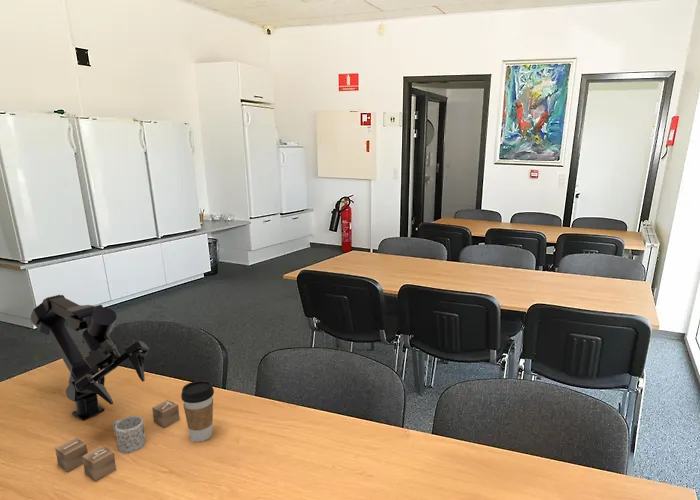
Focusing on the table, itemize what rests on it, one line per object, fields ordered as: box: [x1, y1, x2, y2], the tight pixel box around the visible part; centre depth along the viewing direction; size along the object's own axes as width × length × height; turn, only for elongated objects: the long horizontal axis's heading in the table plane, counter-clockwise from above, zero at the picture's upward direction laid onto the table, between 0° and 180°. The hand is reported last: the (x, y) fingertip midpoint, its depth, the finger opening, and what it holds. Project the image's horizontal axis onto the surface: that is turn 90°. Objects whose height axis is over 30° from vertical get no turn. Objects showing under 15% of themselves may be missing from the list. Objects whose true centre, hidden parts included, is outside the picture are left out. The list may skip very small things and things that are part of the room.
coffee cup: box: [180, 380, 215, 443], centre depth 122 cm, size 8×8×15 cm
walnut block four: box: [82, 444, 117, 482], centre depth 109 cm, size 5×5×5 cm
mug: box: [112, 415, 146, 454], centre depth 120 cm, size 10×7×7 cm
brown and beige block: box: [151, 399, 180, 429], centre depth 130 cm, size 5×5×5 cm
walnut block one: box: [55, 437, 89, 473], centre depth 112 cm, size 5×5×5 cm
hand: (127, 392), depth 118 cm, fingers open, 9 cm apart
